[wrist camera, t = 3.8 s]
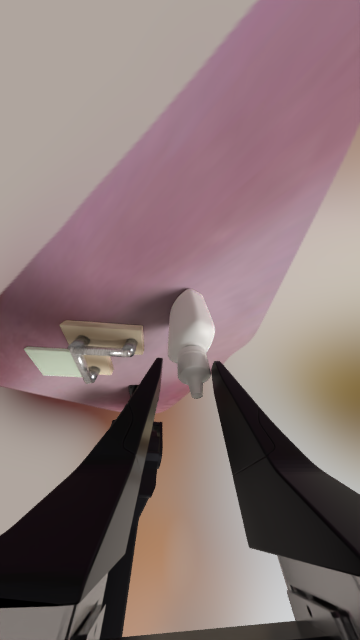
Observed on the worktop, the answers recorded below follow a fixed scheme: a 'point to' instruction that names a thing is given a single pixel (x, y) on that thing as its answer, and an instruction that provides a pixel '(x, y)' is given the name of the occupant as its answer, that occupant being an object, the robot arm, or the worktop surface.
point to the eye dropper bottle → (191, 340)
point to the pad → (53, 361)
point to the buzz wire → (100, 345)
